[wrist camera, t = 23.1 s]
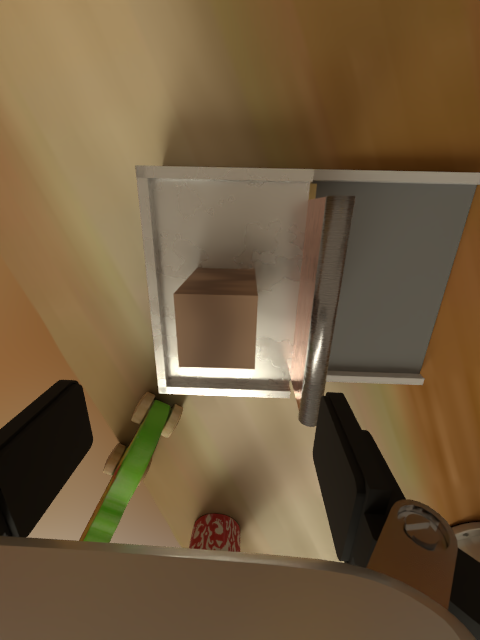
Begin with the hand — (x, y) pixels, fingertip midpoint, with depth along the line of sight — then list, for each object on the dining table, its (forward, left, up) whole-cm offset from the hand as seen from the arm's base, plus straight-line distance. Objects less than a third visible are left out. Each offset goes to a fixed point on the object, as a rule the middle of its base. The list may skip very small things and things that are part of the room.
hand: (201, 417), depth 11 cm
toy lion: (+11, +21, -20) cm, 31 cm away
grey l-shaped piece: (0, 0, -19) cm, 19 cm away
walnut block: (0, 0, -15) cm, 15 cm away
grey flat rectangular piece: (-8, 0, -20) cm, 21 cm away
